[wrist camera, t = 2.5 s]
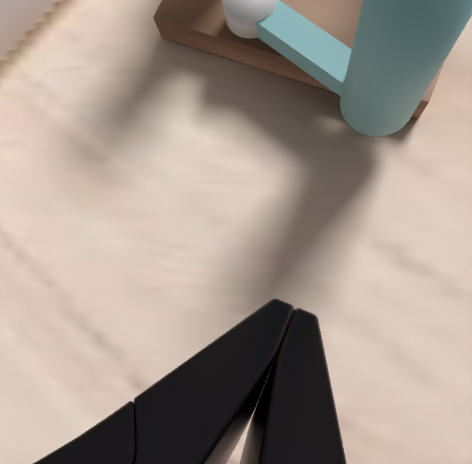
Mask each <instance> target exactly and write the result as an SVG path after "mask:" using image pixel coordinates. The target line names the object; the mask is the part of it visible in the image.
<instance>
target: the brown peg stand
mask: <svg viewBox="0 0 472 464" xmlns="http://www.w3.org/2000/svg"><path fill="white" fill-rule="evenodd" d="M280 1H281V2H283V3H284V4H286V5H287V6H289V7H290V8H292V9H293V10H295V11H296V12H297V13H299V14H300V15H302V16H303V17H305V18H306V19H308V20H309V21H311V22H312V23H314V24H315V25H317V26H318V27H319V28H321V29H322V30H324V31H325V32H327V33H328V34H330V35H331V36H333V37H334V38H336V39H337V40H339V41H340V42H342V43H343V44H344V45H346V46H347V47H349V48H350V49H352V46H353V42H354V38H355V34H356V29H357V25H358V21H359V16H360V12H361V8H362V4H363V0H280ZM153 18H154V20H155V22H156V25H157V27H158V29H159V32H160V34H161V36H162V38H164V39H168V40H171V41H174V42H177V43H180V44H183V45H187V46H190V47H193V48H196V49H199V50H202V51H206V52H209V53H212V54H215V55H218V56H221V57H224V58H228V59H231V60H234V61H237V62H240V63H243V64H247V65H250V66H253V67H256V68H259V69H262V70H266V71H269V72H272V73H275V74H278V75H281V76H285V77H288V78H291V79H294V80H297V81H300V82H303V83H307V84H310V85H313V86H316V87H319V88H322V89H326V90H329V91H332V90H330V89H329V88H327V87H326V86H325V85H323V84H322V83H320V82H319V81H318V80H316V79H315V78H313V77H312V76H311V75H309V74H308V73H306V72H305V71H304V70H302V69H301V68H300V67H298V66H297V65H295V64H294V63H293V62H291V61H290V60H288V59H287V58H286V57H284V56H283V55H281V54H280V53H279V52H277V51H276V50H274V49H273V48H272V47H270V46H269V45H267V44H266V43H265V42H263V41H262V40H261V39H259V38H258V37H257V38H243V37H239V36H237V35H236V34H234V33H233V32H232V31H231V30H230V29H229V28H228V26H227V23H226V19H225V14H224V9H223V4H222V0H162V1H161V3H160V5H159V7H158V9H157V11H156V13H155V15H154V17H153ZM443 63H444V62H443ZM442 66H443V64H442ZM442 66H441V67H440V69H439V71H438V73H437V74H436V76H435V78H434V79H433V81H432V83H431V84H430V86H429V88H428V89H427V91H426V93H425V94H424V96H423V98H422V99H421V101H420V103H419V105H418V106H417V108H416V110H415V111H414V113H413V115H412V116H411V117H414V118H417V119H418V118H419V117H420V115H421V114H422V112H423V111H424V109H425V107H426V106H427V104H428V103H429V100H430V98H431V95H432V92H433V90H434V87H435V84H436V82H437V79H438V76H439V74H440V71H441V68H442ZM332 92H333V91H332Z"/></svg>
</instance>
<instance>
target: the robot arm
mask: <svg viewBox="0 0 472 464" xmlns="http://www.w3.org/2000/svg"><path fill="white" fill-rule="evenodd" d="M292 314H293V315H292ZM290 319H291V320H290ZM288 324H289V325H288ZM277 352H278V353H277ZM275 357H276V358H275ZM273 362H274V363H273ZM271 367H272V368H271ZM269 372H270V373H269ZM267 377H268V378H267ZM265 382H266V383H265ZM263 387H264V388H263ZM261 392H262V393H261ZM259 397H260V398H259ZM258 400H259V401H258ZM257 402H258V403H257ZM256 405H257V406H256ZM255 407H256V408H255ZM254 410H255V411H254ZM253 412H254V414H253ZM252 414H253V417H252V419H251V416H252ZM250 419H251V423H250V426H249V430H248V433H247V437H246V441H245V445H244V449H243V453H242V456H241V460H240V464H346V458H345V453H344V448H343V443H342V438H341V433H340V428H339V423H338V418H337V413H336V408H335V403H334V398H333V393H332V387H331V382H330V377H329V372H328V367H327V362H326V357H325V352H324V347H323V342H322V337H321V332H320V327H319V322H318V318H317V316H316V315H314V314H312V313H310V312H307V311H305V310H303V309H300V308H296V309H295V310H294V307H293V305H291V304H288V303H286V302H284V301H281V300H279V299H272V300H270V301H269V302H268V303H266V304H265V305H263V306H262V307H261V308H259V309H258V310H257V311H255V312H254V313H252V314H251V315H250V316H248V317H247V318H245V319H244V320H243V321H241V322H240V323H238V324H237V325H236V326H234V327H233V328H231V329H230V330H229V331H227V332H226V333H224V334H223V335H222V336H220V337H219V338H218V339H216V340H215V341H213V342H212V343H211V344H209V345H208V346H206V347H205V348H204V349H202V350H201V351H199V352H198V353H197V354H195V355H194V356H192V357H191V358H190V359H188V360H187V361H185V362H184V363H183V364H181V365H180V366H178V367H177V368H176V369H174V370H173V371H172V372H170V373H169V374H167V375H166V376H165V377H163V378H162V379H160V380H159V381H158V382H156V383H155V384H153V385H152V386H151V387H149V388H148V389H146V390H145V391H144V392H142V393H141V394H139V395H138V396H137V397H135V398H134V403H133V402H132V401H129V402H128V403H127V404H125V405H124V406H122V407H121V408H120V409H118V410H117V411H115V412H114V413H113V414H111V415H110V416H108V417H107V418H105V419H104V420H102V421H101V422H99V423H98V424H96V425H95V426H94V427H92V428H91V429H89V430H88V431H86V432H85V433H83V434H82V435H80V436H79V437H77V438H75V439H74V440H72V441H70V442H69V443H67V444H65V445H64V446H62V447H60V448H59V449H57V450H55V451H54V452H52V453H50V454H49V455H47V456H45V457H44V458H42V459H40V460H38V461H37V462H35V463H33V464H226V463H227V461H228V460H229V458H230V456H231V454H232V452H233V450H234V449H235V447H236V445H237V443H238V441H239V440H240V438H241V436H242V434H243V432H244V430H245V428H246V427H247V425H248V423H249V421H250Z"/></svg>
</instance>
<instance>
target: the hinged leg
mask: <svg viewBox="0 0 472 464" xmlns="http://www.w3.org/2000/svg"><path fill="white" fill-rule="evenodd" d="M222 4H223V9H224V14H225V19H226V23H227V26H228V28H229V29H230V30H231V31H232V32H233V33H234V34H236V35H237V36H239V37H243V38H257V37H258V38H259V39H261V40H262V41H263V42H265V43H266V44H267V45H269V46H270V47H272V48H273V49H274V50H276V51H277V52H279V53H280V54H281V55H283V56H284V57H286V58H287V59H288V60H290V61H291V62H293V63H294V64H295V65H297V66H298V67H300V68H301V69H302V70H304V71H305V72H306V73H308V74H309V75H311V76H312V77H313V78H315V79H316V80H318V81H319V82H320V83H322V84H323V85H325V86H326V87H327V88H329V89H330V90H332V91H333V92H334V93H336V94H337V95H339V96H340V109H341V113H342V116H343V118H344V119H345V121H346V122H347V123H348V124H349V126H351V127H352V128H353V129H354V130H356V131H357V132H360V133H362V134H365V135H368V136H386V135H390V134H392V133H395V132H397V131H398V130H400V129H401V128H403V127H404V126H405V125H406V124H407V122H408V121H409V120H410V118H411V116H412V115H413V113H414V111H415V110H416V108H417V106H418V105H419V103H420V101H421V99H422V98H423V96H424V94H425V93H426V91H427V89H428V88H429V86H430V84H431V83H432V81H433V79H434V78H435V76H436V74H437V73H438V71H439V69H440V67H441V66H442V64H443V62H444V61H445V59H446V57H447V56H448V54H449V52H450V51H451V49H452V47H453V46H454V44H455V42H456V41H457V39H458V37H459V35H460V34H461V32H462V30H463V29H464V27H465V25H466V24H467V22H468V20H469V19H470V17H471V15H472V0H363V4H362V8H361V12H360V16H359V21H358V25H357V29H356V34H355V38H354V42H353V46H352V49H350V48H349V47H347V46H346V45H344V44H343V43H342V42H340V41H339V40H337V39H336V38H334V37H333V36H331V35H330V34H328V33H327V32H325V31H324V30H322V29H321V28H319V27H318V26H317V25H315V24H314V23H312V22H311V21H309V20H308V19H306V18H305V17H303V16H302V15H300V14H299V13H297V12H296V11H295V10H293V9H292V8H290V7H289V6H287V5H286V4H284V3H283V2H281V1H280V0H222Z"/></svg>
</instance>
